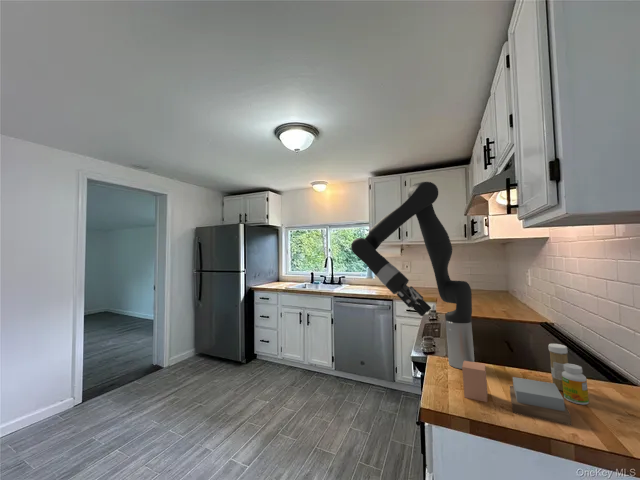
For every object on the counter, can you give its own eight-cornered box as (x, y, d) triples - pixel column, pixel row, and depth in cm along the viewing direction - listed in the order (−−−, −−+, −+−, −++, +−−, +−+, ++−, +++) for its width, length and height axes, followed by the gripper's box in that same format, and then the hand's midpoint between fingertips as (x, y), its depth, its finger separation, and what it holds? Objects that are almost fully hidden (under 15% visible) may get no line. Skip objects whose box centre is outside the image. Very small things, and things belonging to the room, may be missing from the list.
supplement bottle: (559, 398, 80) (556, 364, 81) (570, 394, 82) (567, 361, 83) (582, 406, 75) (578, 370, 76) (593, 402, 77) (589, 367, 78)
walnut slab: (510, 395, 84) (509, 385, 84) (561, 405, 78) (560, 394, 78) (513, 414, 74) (512, 403, 74) (572, 427, 67) (570, 415, 68)
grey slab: (513, 387, 83) (512, 376, 83) (555, 394, 78) (554, 383, 78) (517, 402, 75) (516, 390, 75) (565, 411, 69) (563, 399, 70)
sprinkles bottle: (554, 384, 89) (550, 342, 90) (572, 388, 86) (568, 345, 87) (550, 388, 86) (546, 345, 87) (570, 393, 83) (565, 348, 84)
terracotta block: (465, 389, 88) (463, 360, 89) (487, 393, 85) (485, 363, 85) (464, 397, 83) (462, 367, 83) (487, 402, 80) (484, 370, 80)
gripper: (393, 271, 92) (430, 308, 85) (404, 270, 104) (438, 302, 97) (378, 287, 95) (414, 323, 88) (391, 283, 107) (423, 315, 100)
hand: (426, 312), depth 92 cm, fingers open, 8 cm apart
